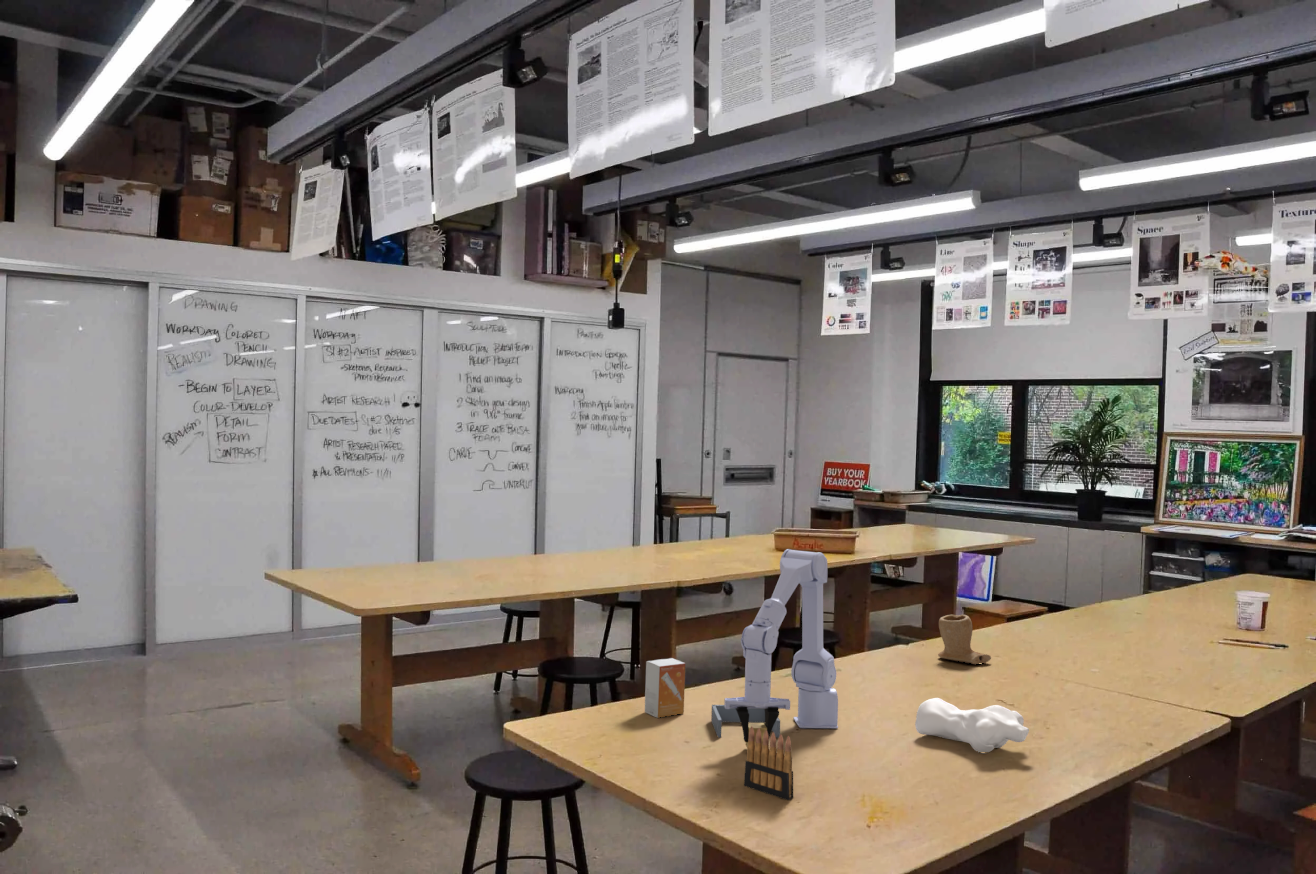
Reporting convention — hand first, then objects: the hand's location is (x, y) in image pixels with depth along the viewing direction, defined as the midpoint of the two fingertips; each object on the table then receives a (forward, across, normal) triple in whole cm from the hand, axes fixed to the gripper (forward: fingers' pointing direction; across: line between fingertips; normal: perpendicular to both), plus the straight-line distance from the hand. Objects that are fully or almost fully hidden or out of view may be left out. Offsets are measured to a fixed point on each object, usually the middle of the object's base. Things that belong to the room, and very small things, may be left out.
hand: (756, 740), depth 213 cm
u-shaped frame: (+2, 0, +16) cm, 16 cm away
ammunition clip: (+3, -2, -24) cm, 24 cm away
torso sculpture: (+3, +52, +5) cm, 52 cm away
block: (+2, 0, 0) cm, 2 cm away
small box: (+3, -18, +29) cm, 34 cm away
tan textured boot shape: (+3, +82, +90) cm, 121 cm away
